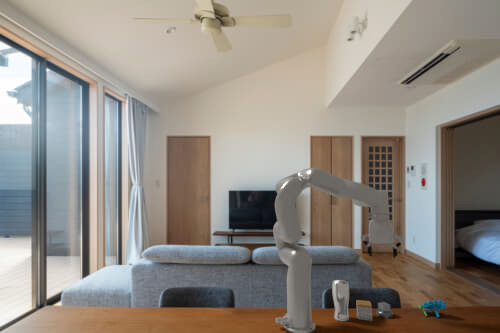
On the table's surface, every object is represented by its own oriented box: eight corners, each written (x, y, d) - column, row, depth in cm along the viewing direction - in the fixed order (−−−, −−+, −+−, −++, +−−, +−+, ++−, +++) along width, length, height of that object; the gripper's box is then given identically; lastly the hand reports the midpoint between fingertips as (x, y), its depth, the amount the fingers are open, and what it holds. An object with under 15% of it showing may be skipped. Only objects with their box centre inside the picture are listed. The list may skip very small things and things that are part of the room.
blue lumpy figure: (443, 308, 129) (446, 297, 124) (449, 322, 125) (453, 311, 119) (416, 310, 132) (418, 299, 126) (422, 323, 127) (424, 312, 121)
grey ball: (383, 319, 122) (382, 306, 123) (373, 313, 128) (372, 301, 129) (396, 317, 124) (395, 305, 124) (385, 312, 130) (385, 300, 130)
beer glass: (350, 322, 119) (349, 284, 120) (333, 320, 121) (331, 283, 122) (349, 315, 125) (348, 280, 127) (333, 314, 127) (331, 279, 129)
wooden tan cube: (372, 320, 120) (371, 305, 121) (357, 319, 122) (357, 304, 123) (370, 315, 126) (370, 301, 126) (356, 314, 127) (356, 299, 128)
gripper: (358, 217, 130) (360, 256, 128) (401, 218, 122) (404, 260, 120) (360, 216, 137) (362, 253, 135) (401, 217, 128) (404, 256, 126)
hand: (382, 256), depth 127 cm, fingers open, 9 cm apart
